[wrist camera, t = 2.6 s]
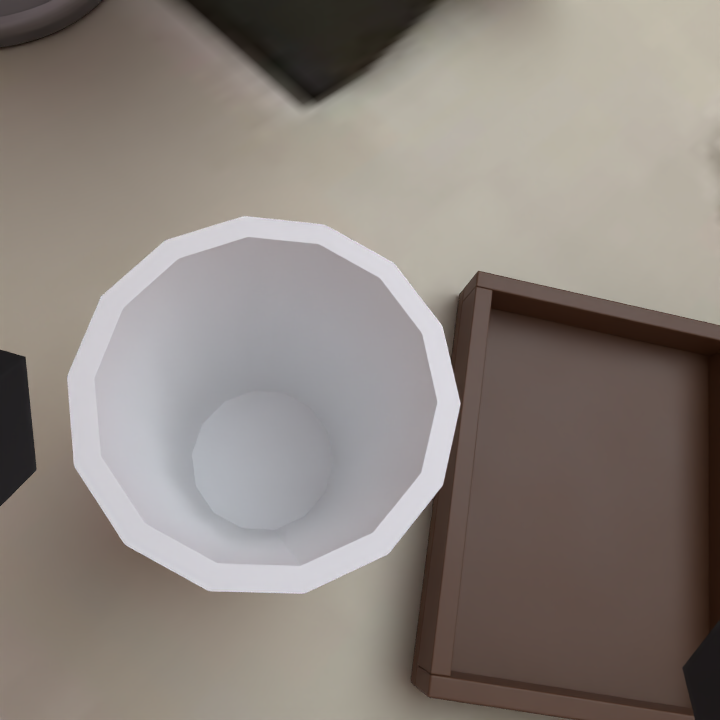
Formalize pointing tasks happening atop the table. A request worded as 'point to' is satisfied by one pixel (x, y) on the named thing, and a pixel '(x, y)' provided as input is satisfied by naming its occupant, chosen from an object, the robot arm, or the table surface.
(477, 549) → the tray
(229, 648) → the table surface
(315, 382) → the foam cup
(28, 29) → the robot arm
